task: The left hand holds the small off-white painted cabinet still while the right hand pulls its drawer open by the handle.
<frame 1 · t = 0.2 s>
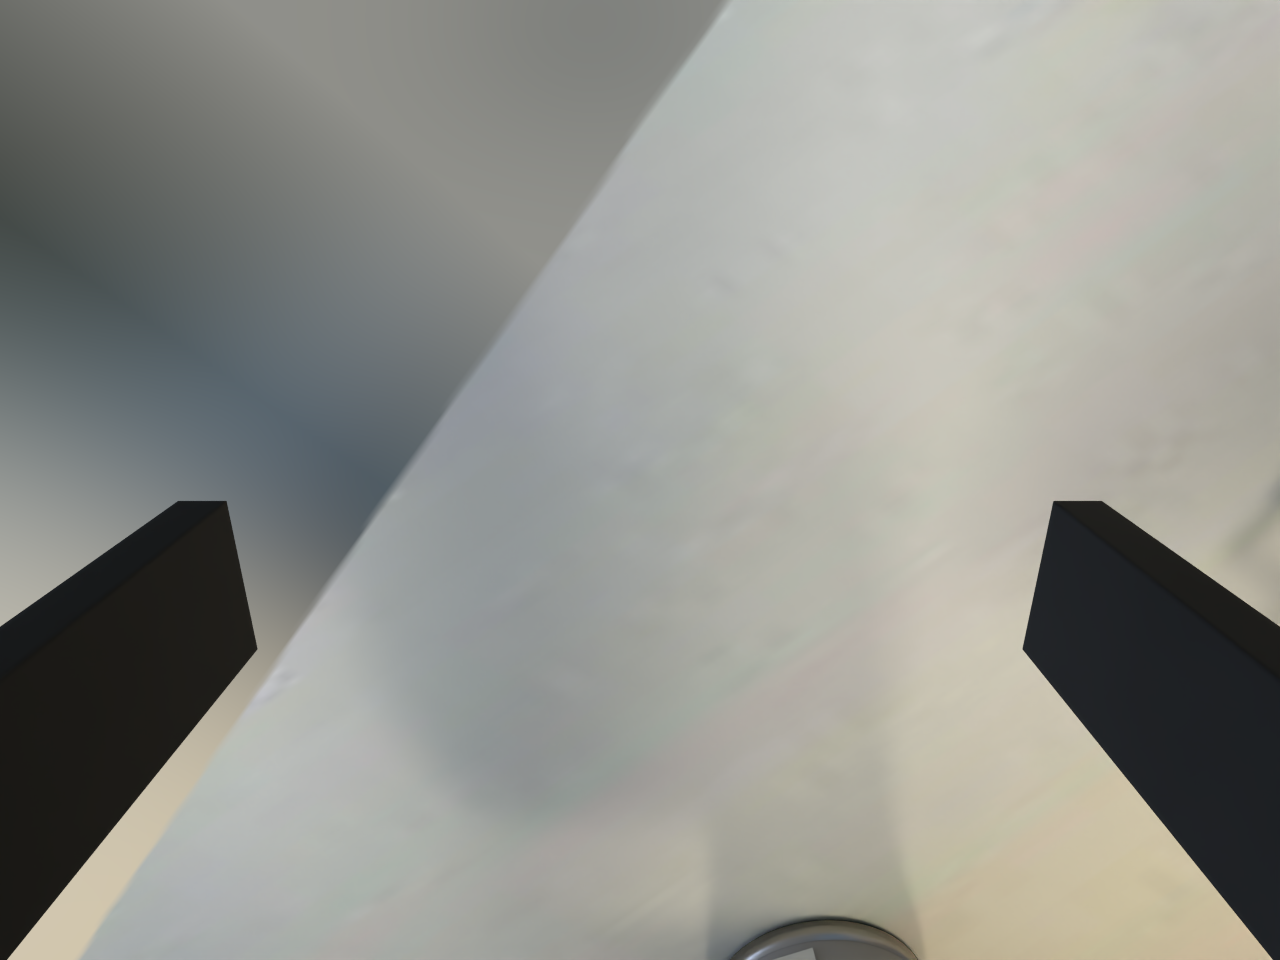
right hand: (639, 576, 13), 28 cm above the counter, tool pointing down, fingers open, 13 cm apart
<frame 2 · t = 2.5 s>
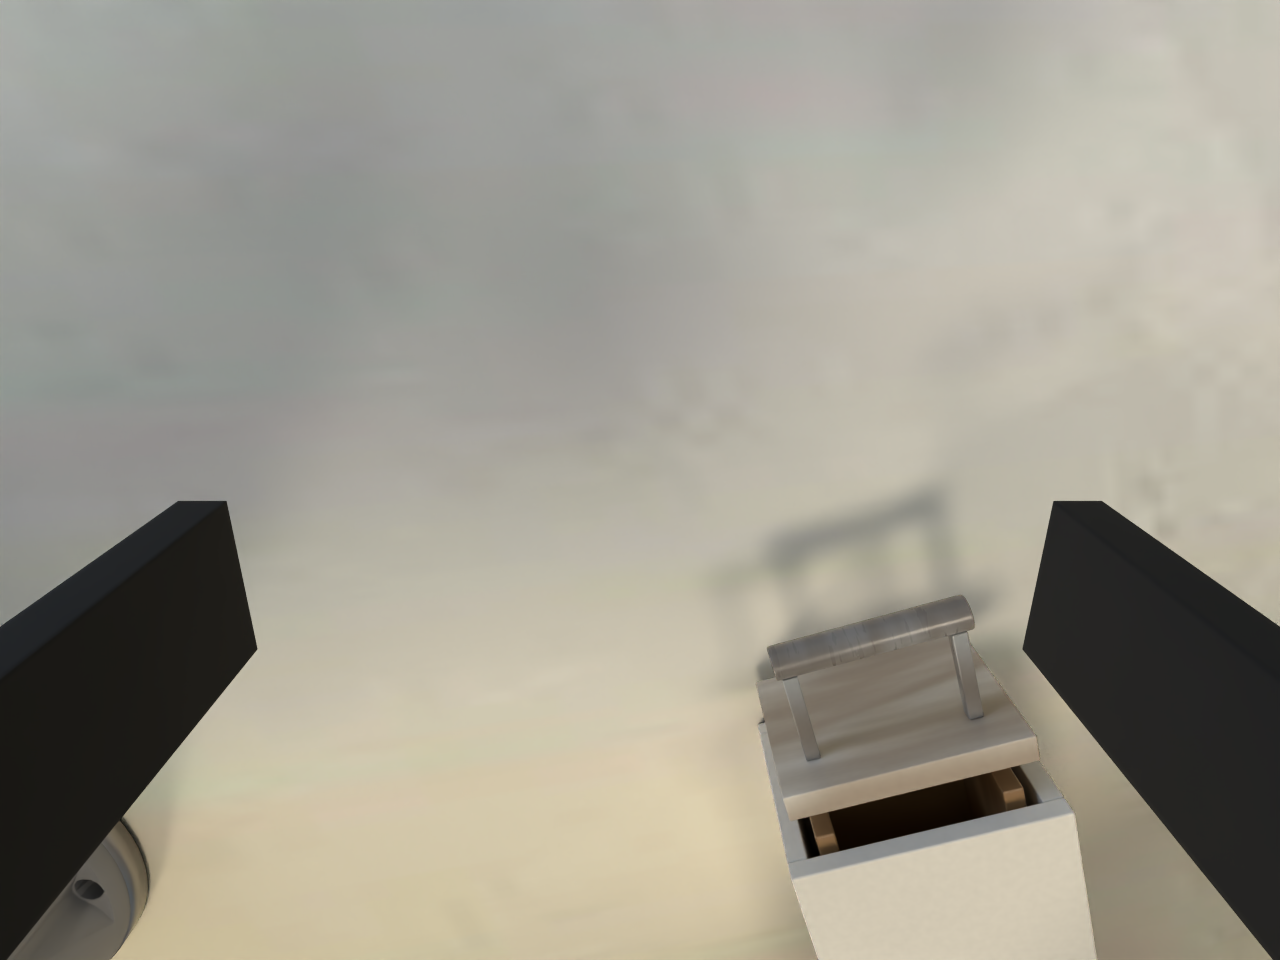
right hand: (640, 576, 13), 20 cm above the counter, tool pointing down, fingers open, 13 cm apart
cabinet: (900, 833, 41), on the counter
drawer: (905, 810, 35), point 5 cm above the counter, slide at 1.9 cm
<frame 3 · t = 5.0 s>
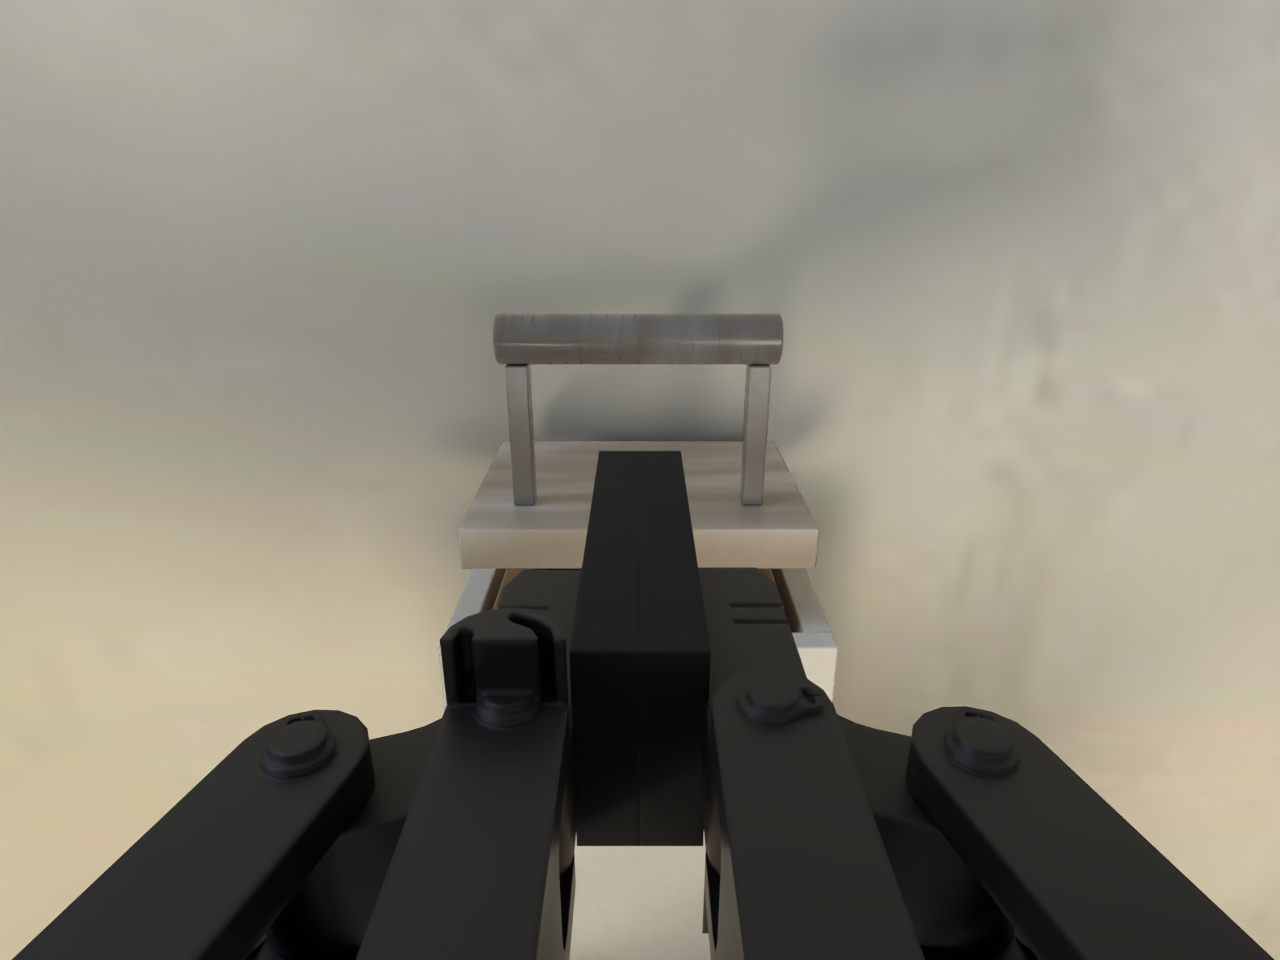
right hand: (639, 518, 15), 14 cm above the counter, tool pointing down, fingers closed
cabinet: (638, 710, 33), on the counter, touching left hand
drawer: (638, 642, 26), point 5 cm above the counter, slide at 1.9 cm
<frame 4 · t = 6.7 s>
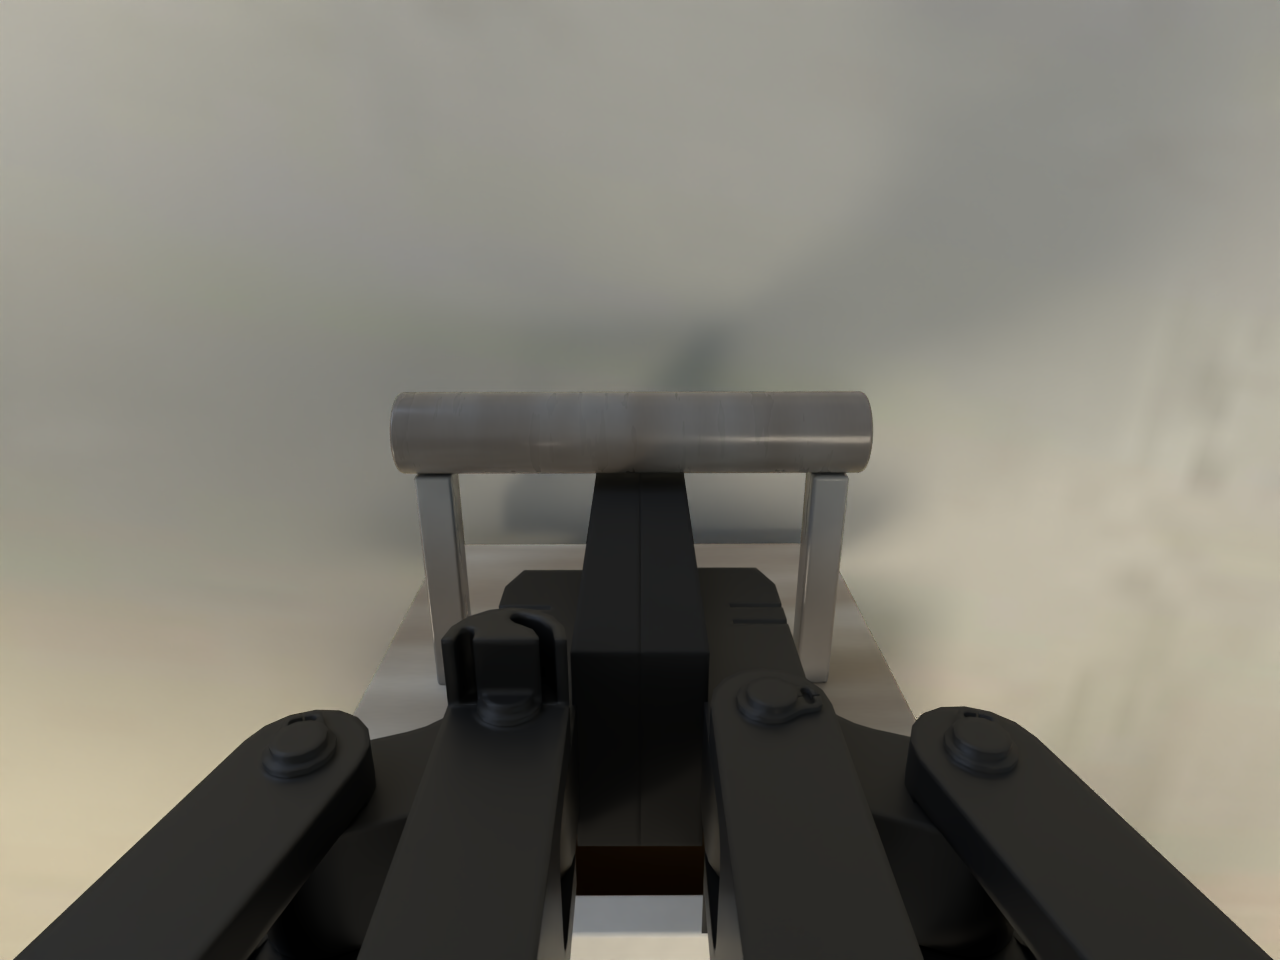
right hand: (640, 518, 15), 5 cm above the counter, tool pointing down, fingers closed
cabinet: (635, 879, 25), on the counter, touching left hand
drawer: (634, 840, 18), point 5 cm above the counter, slide at 2.0 cm, touching right hand
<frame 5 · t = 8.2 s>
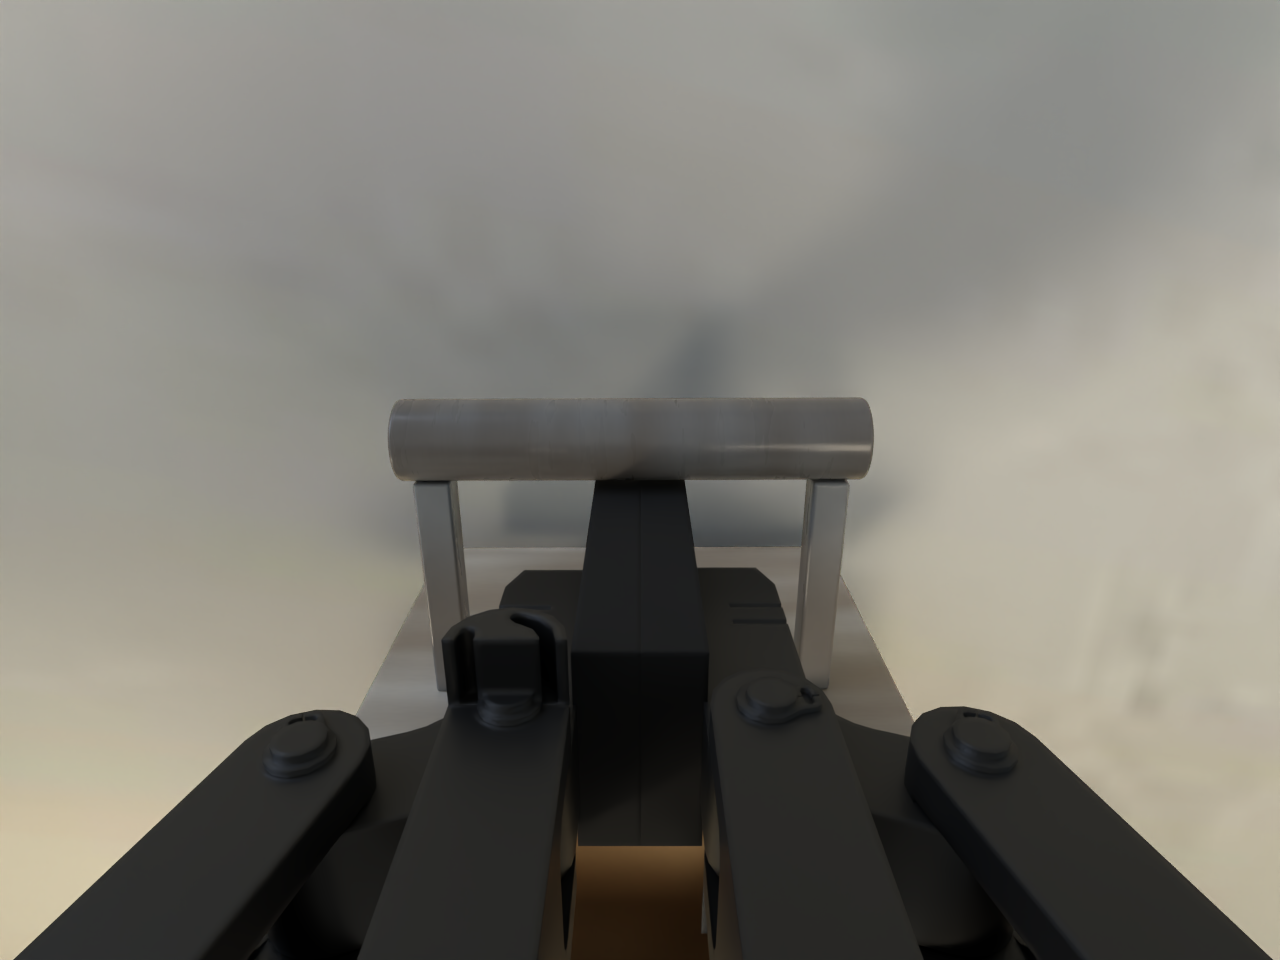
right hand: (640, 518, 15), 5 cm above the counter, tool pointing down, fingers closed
drawer: (635, 844, 18), point 5 cm above the counter, slide at 8.9 cm, touching right hand
when the left hand's fingers open (4 cm above the counter, at t = 9.9 s): cabinet stays where it is, on the counter.
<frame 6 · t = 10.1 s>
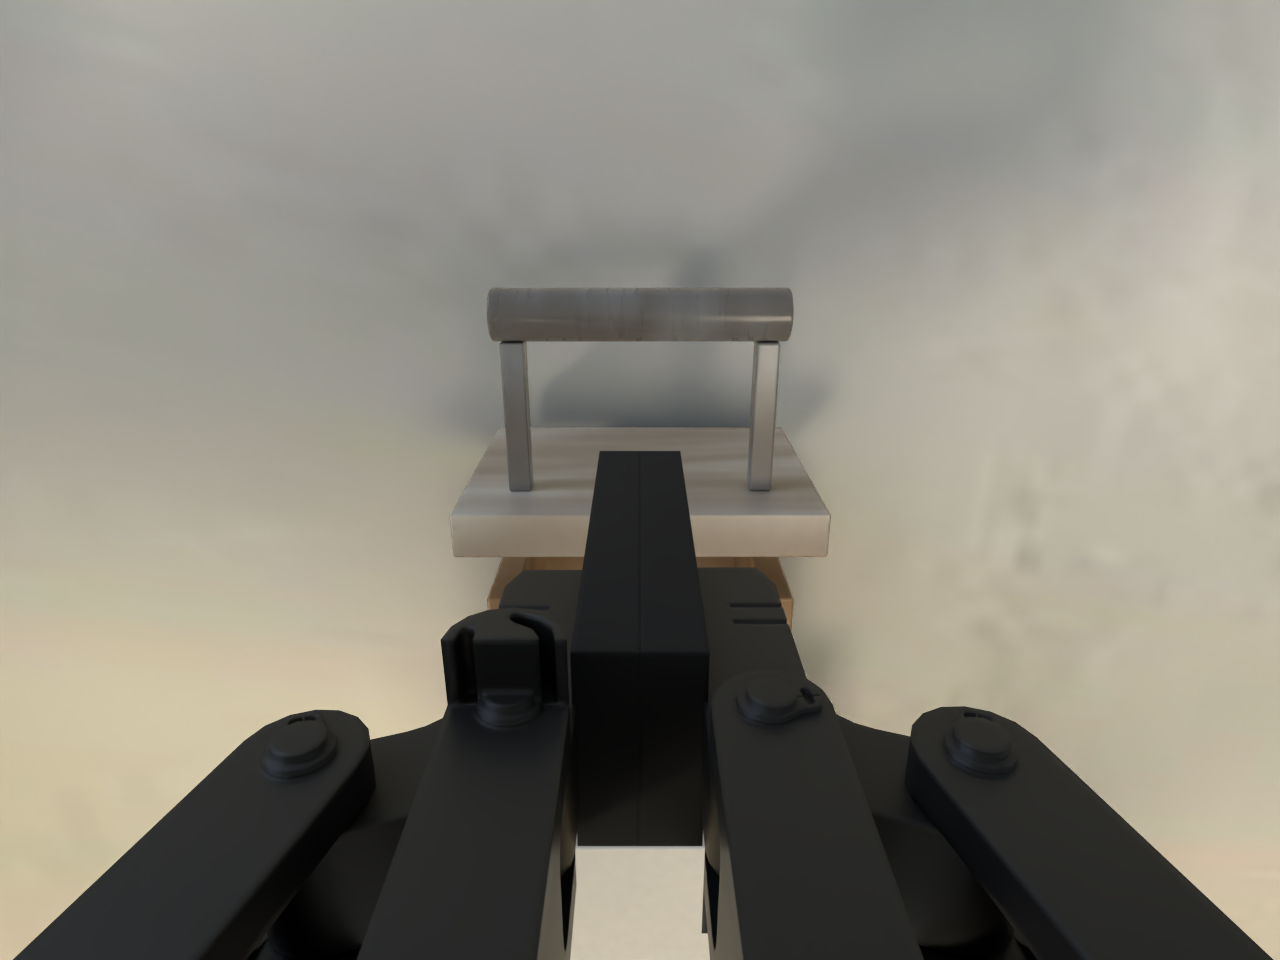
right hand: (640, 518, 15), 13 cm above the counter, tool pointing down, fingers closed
cabinet: (640, 838, 34), on the counter
drawer: (640, 636, 25), point 5 cm above the counter, slide at 8.9 cm
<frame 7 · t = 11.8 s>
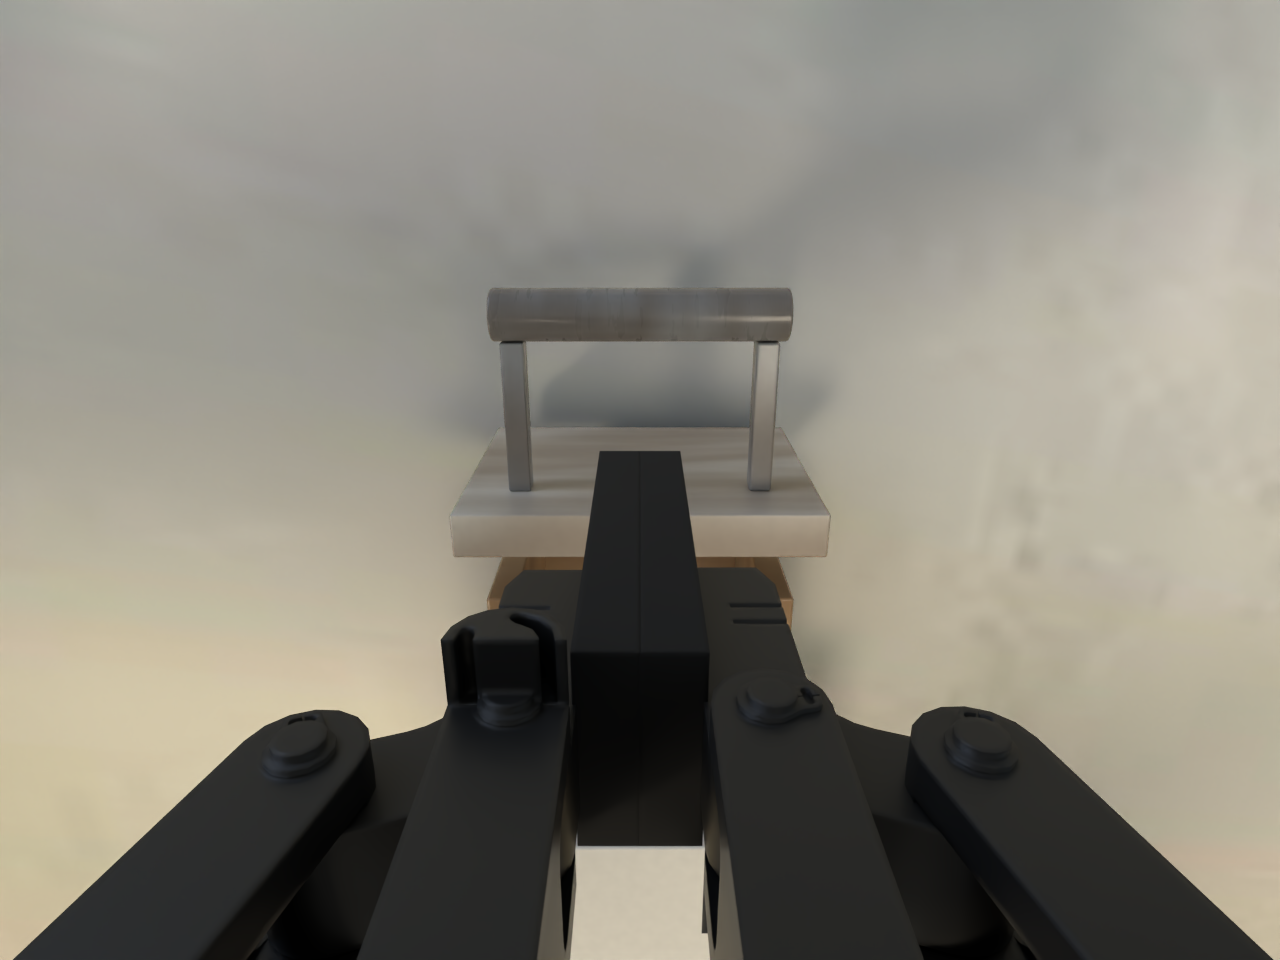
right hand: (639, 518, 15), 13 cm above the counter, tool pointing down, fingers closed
cabinet: (640, 838, 34), on the counter
drawer: (640, 636, 25), point 5 cm above the counter, slide at 8.9 cm
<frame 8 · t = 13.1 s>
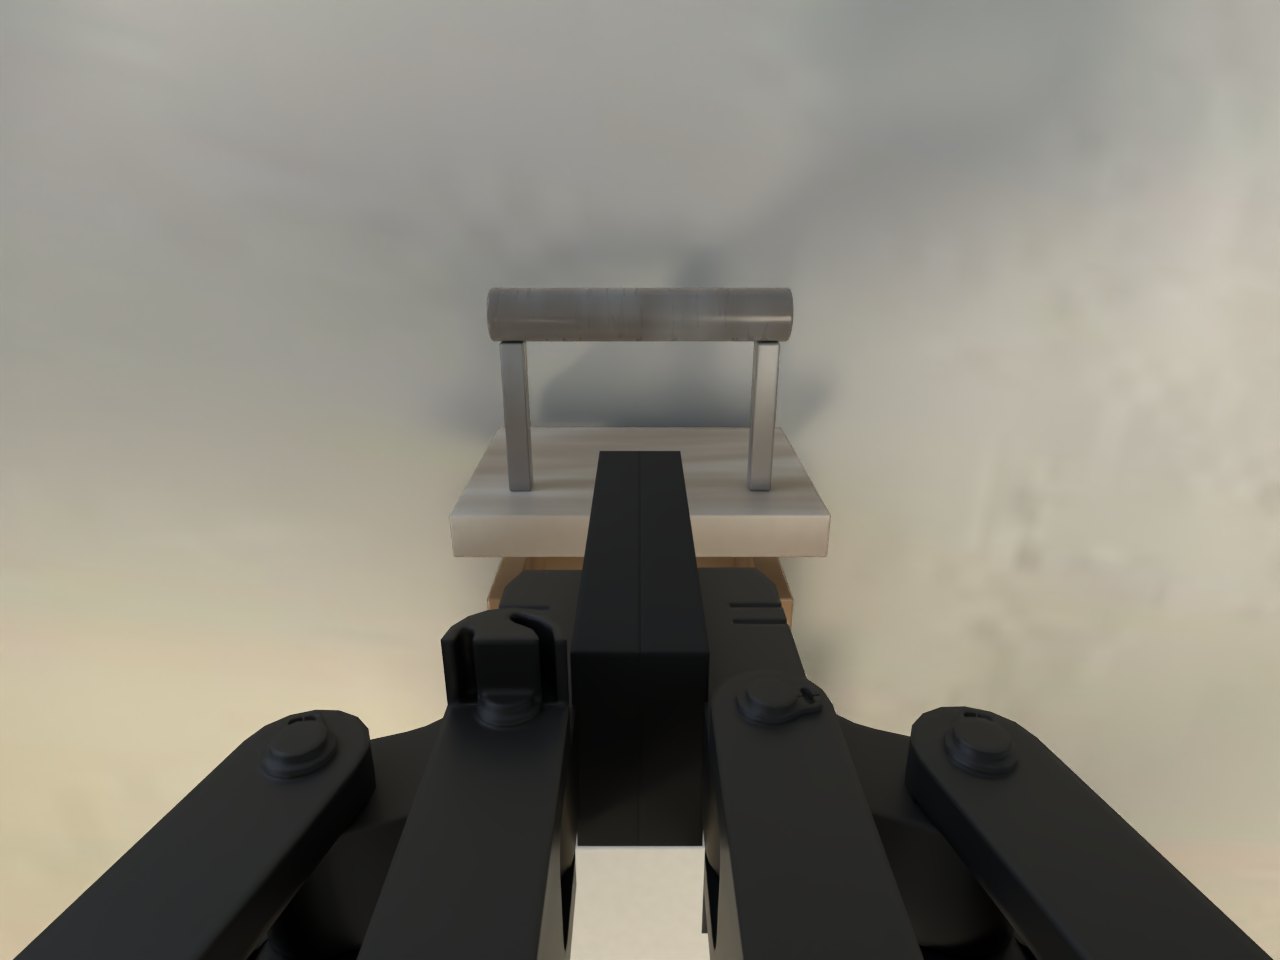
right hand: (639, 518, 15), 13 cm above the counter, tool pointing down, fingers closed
cabinet: (640, 838, 34), on the counter
drawer: (640, 636, 25), point 5 cm above the counter, slide at 8.9 cm
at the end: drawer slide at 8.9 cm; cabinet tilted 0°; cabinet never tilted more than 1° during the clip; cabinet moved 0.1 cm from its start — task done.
